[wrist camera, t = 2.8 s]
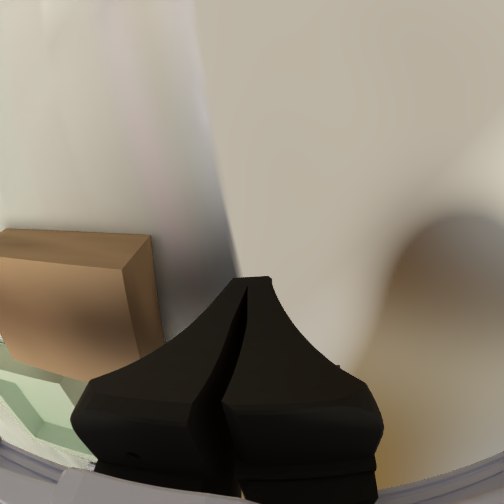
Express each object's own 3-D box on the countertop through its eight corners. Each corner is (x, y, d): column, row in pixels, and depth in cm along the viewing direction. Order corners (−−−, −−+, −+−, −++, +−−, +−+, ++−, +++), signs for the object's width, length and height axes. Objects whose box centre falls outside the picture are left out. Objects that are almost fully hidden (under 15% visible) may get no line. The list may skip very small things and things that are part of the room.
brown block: (168, 349, 14) (150, 396, 12) (40, 325, 15) (13, 359, 12) (153, 231, 12) (121, 269, 9) (10, 225, 12) (-30, 252, 9)
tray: (132, 443, 19) (123, 468, 17) (43, 421, 20) (33, 440, 17) (77, 354, 15) (59, 383, 13) (-12, 340, 16) (-29, 360, 14)
